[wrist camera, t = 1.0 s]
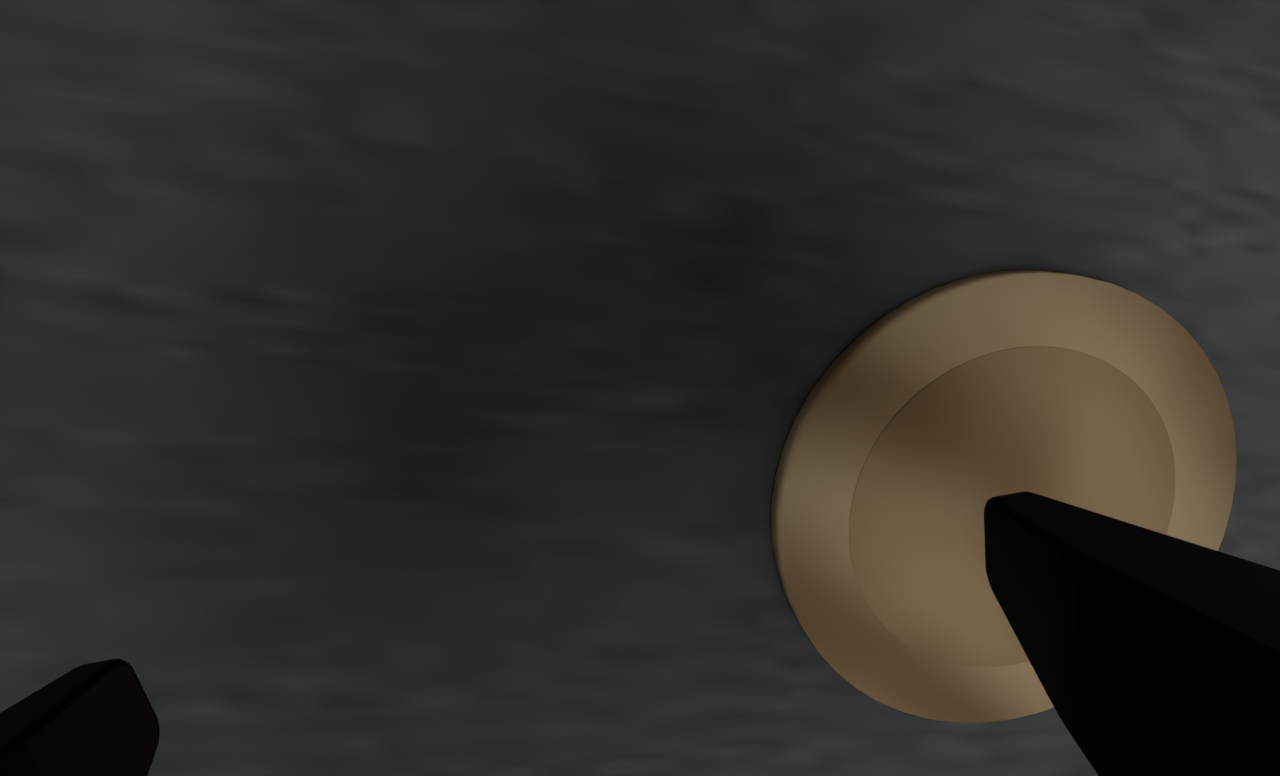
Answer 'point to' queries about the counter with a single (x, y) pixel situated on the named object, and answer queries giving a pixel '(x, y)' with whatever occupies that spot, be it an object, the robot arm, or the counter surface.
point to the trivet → (984, 473)
